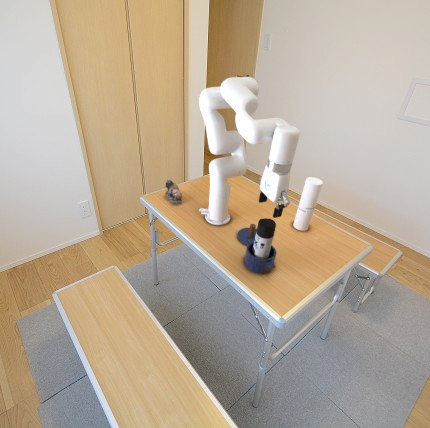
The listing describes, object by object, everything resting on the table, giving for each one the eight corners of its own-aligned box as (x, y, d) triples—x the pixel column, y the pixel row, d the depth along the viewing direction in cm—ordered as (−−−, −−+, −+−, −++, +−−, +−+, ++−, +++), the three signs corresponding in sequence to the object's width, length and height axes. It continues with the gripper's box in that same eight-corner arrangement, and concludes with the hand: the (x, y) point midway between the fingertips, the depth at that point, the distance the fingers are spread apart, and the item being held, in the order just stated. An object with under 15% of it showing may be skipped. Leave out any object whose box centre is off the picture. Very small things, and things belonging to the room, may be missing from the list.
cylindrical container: (308, 231, 133) (323, 185, 119) (293, 229, 134) (306, 183, 120) (307, 223, 139) (321, 178, 125) (292, 220, 140) (305, 176, 126)
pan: (256, 281, 105) (259, 268, 101) (236, 252, 118) (238, 239, 114) (282, 274, 109) (286, 261, 105) (260, 246, 122) (263, 234, 118)
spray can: (248, 256, 116) (256, 217, 104) (264, 256, 116) (273, 217, 105) (252, 268, 110) (260, 228, 99) (268, 267, 111) (278, 228, 100)
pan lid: (245, 249, 120) (247, 236, 116) (232, 232, 130) (234, 219, 126) (270, 243, 124) (272, 231, 120) (256, 227, 134) (258, 215, 130)
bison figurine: (185, 203, 148) (185, 186, 142) (173, 207, 144) (173, 190, 139) (173, 193, 156) (172, 177, 150) (162, 197, 152) (161, 180, 146)
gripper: (256, 155, 94) (248, 198, 104) (284, 179, 82) (273, 225, 92) (274, 153, 97) (265, 195, 107) (305, 176, 84) (292, 221, 94)
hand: (269, 209), depth 99 cm, fingers open, 9 cm apart
